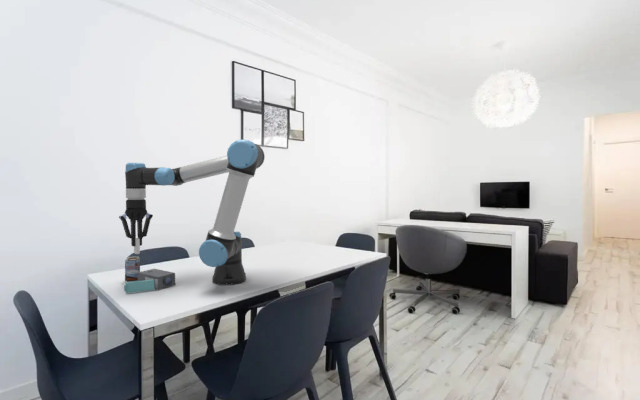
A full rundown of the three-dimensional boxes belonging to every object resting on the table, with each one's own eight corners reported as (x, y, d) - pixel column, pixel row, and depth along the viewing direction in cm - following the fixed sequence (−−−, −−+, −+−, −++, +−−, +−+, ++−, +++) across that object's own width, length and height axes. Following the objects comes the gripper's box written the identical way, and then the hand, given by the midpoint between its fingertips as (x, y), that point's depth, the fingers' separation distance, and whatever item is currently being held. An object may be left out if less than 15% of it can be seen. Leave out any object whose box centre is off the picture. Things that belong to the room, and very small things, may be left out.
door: (158, 288, 142) (157, 278, 141) (157, 289, 140) (157, 279, 140) (125, 292, 137) (124, 282, 137) (124, 293, 135) (124, 283, 135)
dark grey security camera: (176, 285, 148) (176, 272, 147) (159, 290, 141) (159, 276, 141) (154, 280, 157) (154, 267, 157) (137, 284, 150) (137, 271, 150)
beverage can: (124, 284, 150) (123, 258, 149) (126, 280, 156) (125, 255, 156) (139, 283, 152) (139, 257, 152) (141, 279, 159) (140, 254, 158)
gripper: (149, 198, 149) (149, 250, 150) (116, 199, 140) (117, 254, 141) (155, 198, 144) (156, 252, 145) (121, 199, 135) (122, 257, 136)
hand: (136, 253), depth 143 cm, fingers closed
